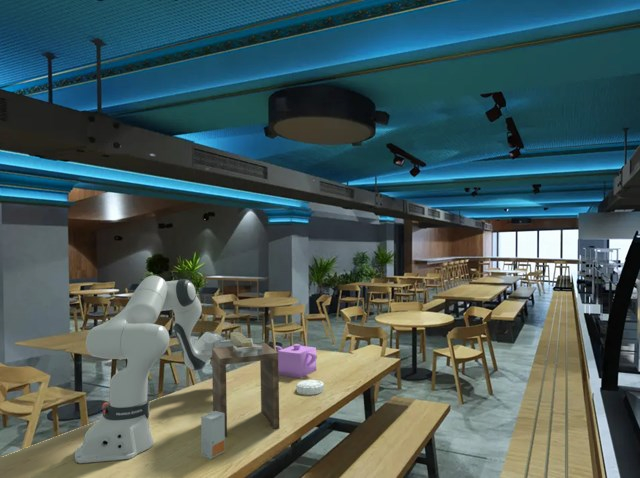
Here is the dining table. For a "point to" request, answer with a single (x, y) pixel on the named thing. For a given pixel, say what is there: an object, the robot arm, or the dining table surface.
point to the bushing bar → (240, 340)
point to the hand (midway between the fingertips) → (231, 340)
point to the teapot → (296, 360)
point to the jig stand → (268, 377)
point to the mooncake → (310, 387)
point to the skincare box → (212, 434)
